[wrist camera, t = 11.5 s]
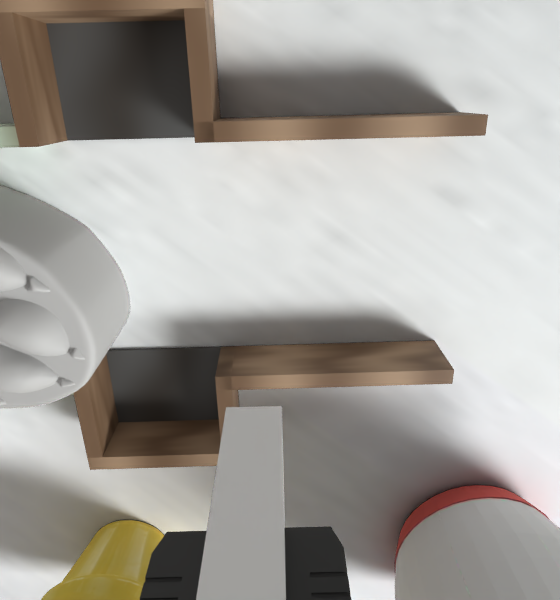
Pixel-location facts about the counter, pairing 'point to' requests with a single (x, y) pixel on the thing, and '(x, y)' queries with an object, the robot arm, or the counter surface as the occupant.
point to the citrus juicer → (478, 549)
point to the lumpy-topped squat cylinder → (53, 302)
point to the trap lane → (205, 128)
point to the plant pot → (111, 564)
